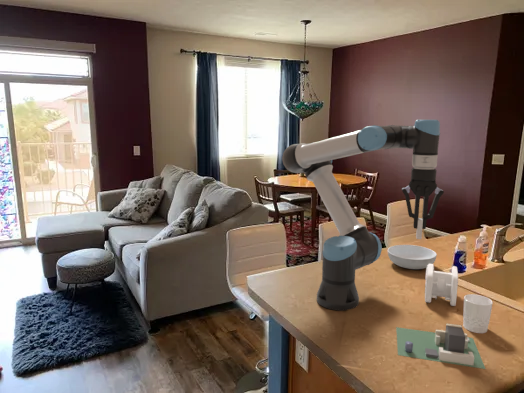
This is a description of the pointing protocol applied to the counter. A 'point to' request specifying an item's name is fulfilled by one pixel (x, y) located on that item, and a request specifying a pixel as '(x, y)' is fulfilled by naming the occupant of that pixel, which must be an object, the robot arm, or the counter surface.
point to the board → (429, 346)
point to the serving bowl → (411, 256)
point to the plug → (454, 338)
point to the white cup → (476, 313)
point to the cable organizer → (441, 284)
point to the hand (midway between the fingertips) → (418, 237)
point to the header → (453, 356)
